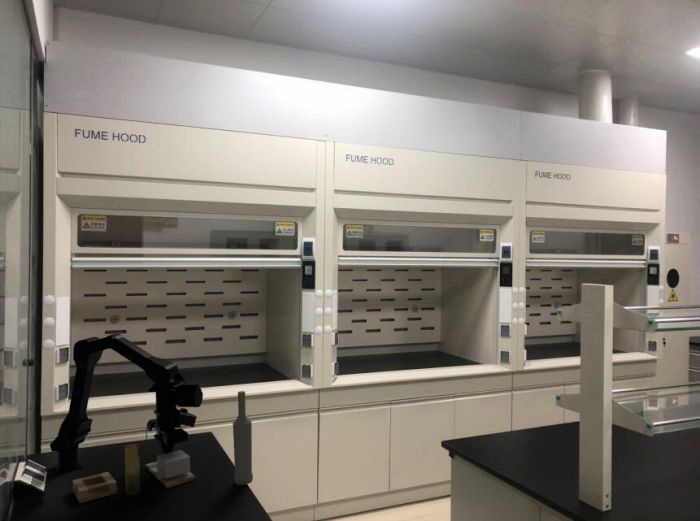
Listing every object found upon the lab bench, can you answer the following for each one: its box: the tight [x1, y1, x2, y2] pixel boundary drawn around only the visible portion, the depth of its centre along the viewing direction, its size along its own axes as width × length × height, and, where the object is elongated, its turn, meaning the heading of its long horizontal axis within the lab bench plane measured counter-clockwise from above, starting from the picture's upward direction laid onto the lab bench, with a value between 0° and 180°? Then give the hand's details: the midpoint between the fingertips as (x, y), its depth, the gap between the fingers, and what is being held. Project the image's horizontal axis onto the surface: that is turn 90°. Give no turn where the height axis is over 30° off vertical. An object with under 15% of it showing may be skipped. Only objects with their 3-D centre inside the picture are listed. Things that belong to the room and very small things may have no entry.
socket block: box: [72, 471, 118, 504], centre depth 145 cm, size 9×9×3 cm
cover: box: [156, 449, 191, 479], centre depth 154 cm, size 7×7×4 cm
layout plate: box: [145, 461, 196, 489], centre depth 157 cm, size 18×8×1 cm, turn 38°
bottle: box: [232, 390, 254, 486], centre depth 150 cm, size 5×5×25 cm
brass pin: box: [124, 443, 141, 497], centre depth 145 cm, size 4×4×12 cm
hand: (167, 459), depth 158 cm, fingers closed
